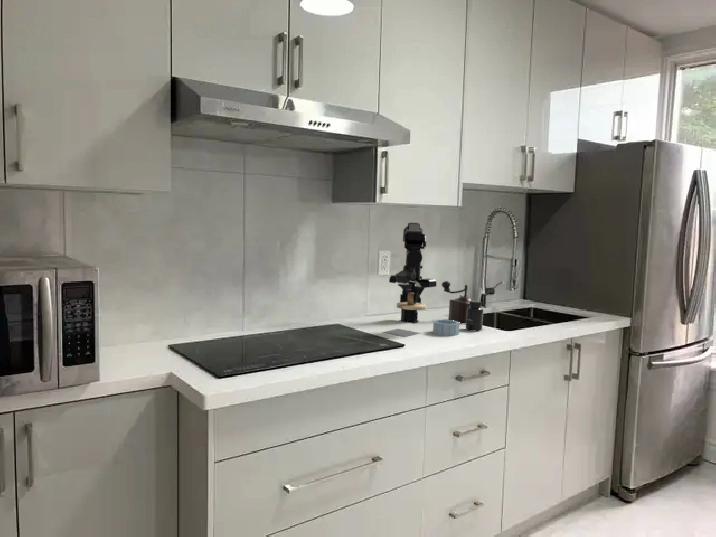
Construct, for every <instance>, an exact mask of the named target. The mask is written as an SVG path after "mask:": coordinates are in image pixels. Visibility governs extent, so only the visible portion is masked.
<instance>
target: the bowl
mask: <svg viewBox="0 0 716 537" xmlns="http://www.w3.org/2000/svg"><path fill="white" fill-rule="evenodd" d="M432 324H433V326H432V327H433V328H432V333H433V334H435V335H438V336H446V337H447V336H448V337H449V336H450V337H454V336H458V335H459V333H460V323H459V322H457V321H453V320H449V319H434V320H433V323H432Z"/></svg>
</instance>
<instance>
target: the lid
mask: <svg viewBox="0 0 716 537" xmlns="http://www.w3.org/2000/svg"><path fill="white" fill-rule="evenodd" d="M396 308H398V309H407V310H417V311H422V310H426V304H425V303H422V302H421V303H416V304H414V293H408V300H407V302H400V301H399V302H397V303H396Z"/></svg>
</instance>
